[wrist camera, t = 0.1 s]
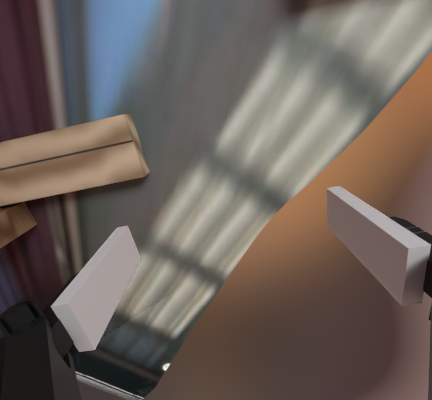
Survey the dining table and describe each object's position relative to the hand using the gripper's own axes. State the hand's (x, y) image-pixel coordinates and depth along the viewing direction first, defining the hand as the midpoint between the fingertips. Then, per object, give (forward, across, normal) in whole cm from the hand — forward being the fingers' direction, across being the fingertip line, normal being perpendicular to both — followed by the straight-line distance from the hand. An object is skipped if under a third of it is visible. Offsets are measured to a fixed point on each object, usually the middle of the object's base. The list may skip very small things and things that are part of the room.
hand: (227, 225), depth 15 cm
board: (+26, -30, +4) cm, 40 cm away
